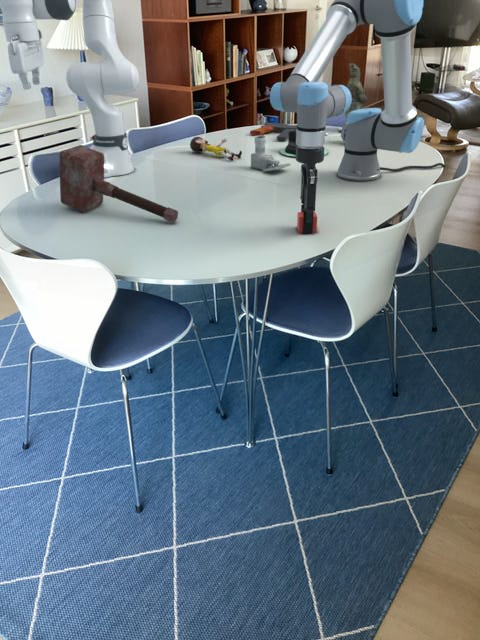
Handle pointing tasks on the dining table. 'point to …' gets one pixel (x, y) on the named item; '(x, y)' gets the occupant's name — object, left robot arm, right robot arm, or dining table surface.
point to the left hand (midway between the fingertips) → (32, 86)
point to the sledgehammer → (96, 184)
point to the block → (300, 222)
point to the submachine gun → (275, 130)
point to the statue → (355, 90)
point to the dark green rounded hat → (292, 145)
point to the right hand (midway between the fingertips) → (306, 229)
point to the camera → (264, 157)
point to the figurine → (212, 148)
